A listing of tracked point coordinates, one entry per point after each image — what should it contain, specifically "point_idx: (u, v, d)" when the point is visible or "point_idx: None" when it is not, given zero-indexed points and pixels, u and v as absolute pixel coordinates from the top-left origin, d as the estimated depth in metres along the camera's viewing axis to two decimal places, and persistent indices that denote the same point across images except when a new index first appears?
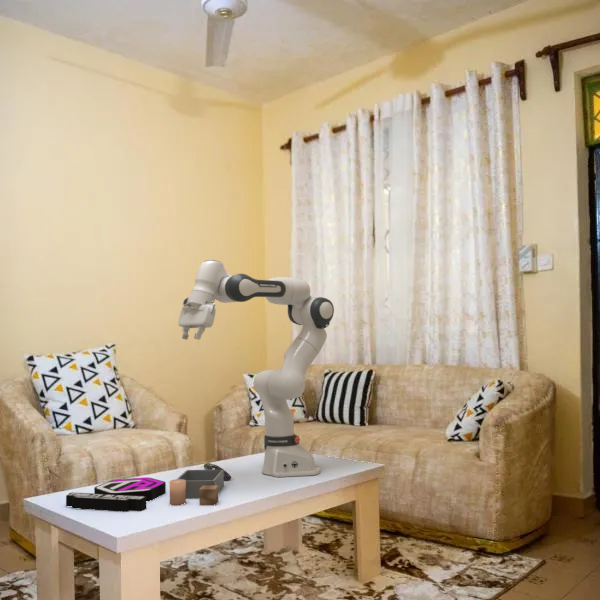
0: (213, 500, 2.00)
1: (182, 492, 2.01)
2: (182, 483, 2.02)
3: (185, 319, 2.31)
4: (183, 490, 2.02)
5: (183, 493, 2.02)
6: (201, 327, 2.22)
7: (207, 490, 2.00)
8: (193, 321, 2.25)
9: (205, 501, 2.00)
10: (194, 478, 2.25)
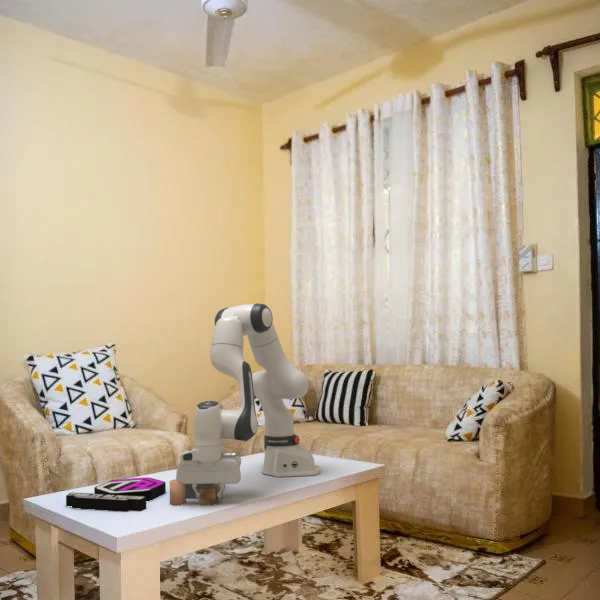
0: (213, 500, 2.00)
1: (182, 492, 2.01)
2: None
3: (192, 477, 2.01)
4: (183, 490, 2.02)
5: (183, 493, 2.02)
6: (224, 484, 2.02)
7: (207, 490, 2.00)
8: (213, 480, 2.01)
9: (205, 501, 2.00)
10: None
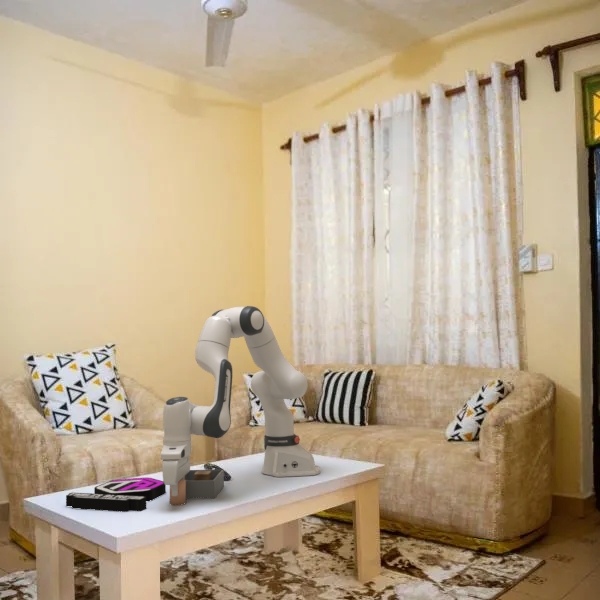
0: None
1: (182, 492, 2.01)
2: (182, 483, 2.02)
3: (179, 474, 1.99)
4: (183, 490, 2.02)
5: (183, 493, 2.02)
6: None
7: (201, 475, 2.19)
8: (184, 473, 2.05)
9: None
10: None
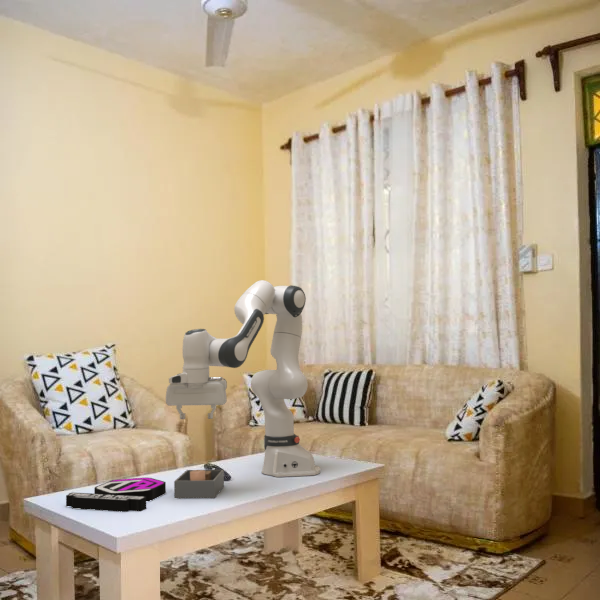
0: None
1: None
2: (191, 474, 2.12)
3: (181, 399, 2.13)
4: None
5: None
6: (215, 406, 2.14)
7: None
8: (200, 401, 2.13)
9: None
10: None
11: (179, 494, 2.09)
